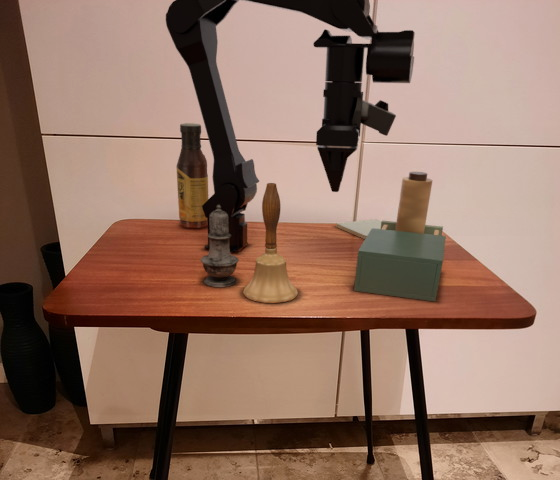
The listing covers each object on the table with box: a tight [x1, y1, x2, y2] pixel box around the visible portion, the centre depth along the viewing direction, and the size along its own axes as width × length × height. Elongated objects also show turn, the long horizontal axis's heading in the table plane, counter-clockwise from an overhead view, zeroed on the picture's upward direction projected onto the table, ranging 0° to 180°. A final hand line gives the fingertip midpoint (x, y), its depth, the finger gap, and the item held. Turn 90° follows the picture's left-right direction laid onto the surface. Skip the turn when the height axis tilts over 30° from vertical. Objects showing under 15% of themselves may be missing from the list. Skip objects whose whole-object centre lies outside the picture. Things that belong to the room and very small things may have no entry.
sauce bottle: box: [176, 122, 209, 229], centre depth 111 cm, size 7×6×20 cm
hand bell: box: [242, 182, 299, 304], centre depth 79 cm, size 8×8×16 cm
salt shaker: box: [200, 204, 239, 288], centre depth 84 cm, size 6×6×12 cm
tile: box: [335, 218, 382, 240], centre depth 117 cm, size 11×11×1 cm
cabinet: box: [353, 228, 447, 303], centre depth 88 cm, size 14×12×6 cm
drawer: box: [381, 220, 444, 236], centre depth 98 cm, size 17×11×5 cm, turn 163°
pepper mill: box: [395, 171, 433, 234], centre depth 95 cm, size 5×5×13 cm
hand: (336, 186), depth 92 cm, fingers open, 9 cm apart
